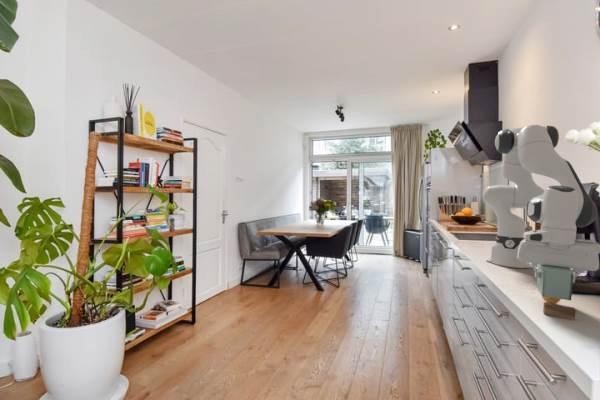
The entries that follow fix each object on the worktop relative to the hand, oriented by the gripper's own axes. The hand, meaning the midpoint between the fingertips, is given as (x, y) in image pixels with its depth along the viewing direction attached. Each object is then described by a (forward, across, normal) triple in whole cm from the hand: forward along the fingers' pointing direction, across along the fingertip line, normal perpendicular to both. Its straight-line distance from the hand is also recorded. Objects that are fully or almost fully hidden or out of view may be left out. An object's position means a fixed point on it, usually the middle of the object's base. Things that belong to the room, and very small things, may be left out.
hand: (554, 279), depth 101 cm
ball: (+6, 0, -2) cm, 6 cm away
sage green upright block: (+4, 0, 0) cm, 4 cm away
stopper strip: (+8, 0, +10) cm, 13 cm away
